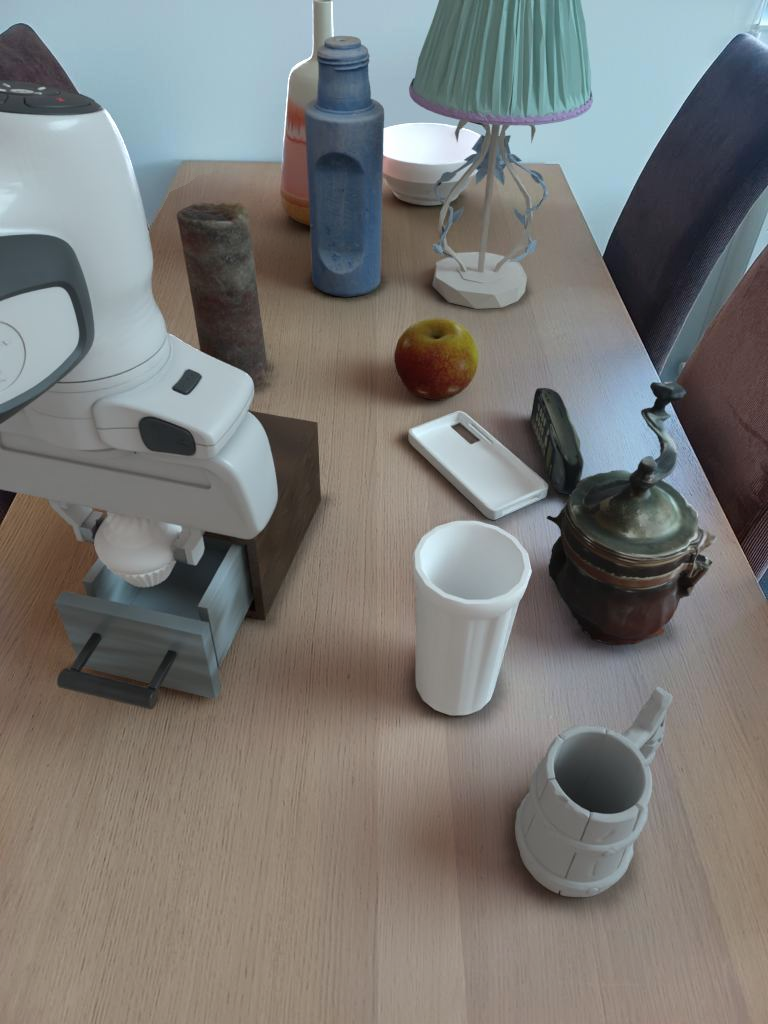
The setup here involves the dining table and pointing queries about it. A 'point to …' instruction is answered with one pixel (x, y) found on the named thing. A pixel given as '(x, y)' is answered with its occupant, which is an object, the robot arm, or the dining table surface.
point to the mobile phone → (557, 440)
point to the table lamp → (499, 114)
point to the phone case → (478, 465)
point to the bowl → (425, 160)
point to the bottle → (345, 171)
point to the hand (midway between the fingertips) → (142, 547)
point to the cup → (465, 611)
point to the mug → (590, 803)
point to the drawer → (157, 627)
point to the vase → (302, 119)
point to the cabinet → (283, 506)
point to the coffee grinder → (630, 543)
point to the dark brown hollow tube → (224, 285)
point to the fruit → (436, 358)
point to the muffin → (137, 548)
